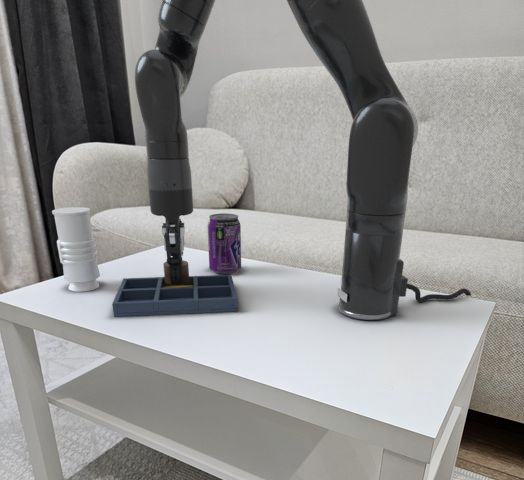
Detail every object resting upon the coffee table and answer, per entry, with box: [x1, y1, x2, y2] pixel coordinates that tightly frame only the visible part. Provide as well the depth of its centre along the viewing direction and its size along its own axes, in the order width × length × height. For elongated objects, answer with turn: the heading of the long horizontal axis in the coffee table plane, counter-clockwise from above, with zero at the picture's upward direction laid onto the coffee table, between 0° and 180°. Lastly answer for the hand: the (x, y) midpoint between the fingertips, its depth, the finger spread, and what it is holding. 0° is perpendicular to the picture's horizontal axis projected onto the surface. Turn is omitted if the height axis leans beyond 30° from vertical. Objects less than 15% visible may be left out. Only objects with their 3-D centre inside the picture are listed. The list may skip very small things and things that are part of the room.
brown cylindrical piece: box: [162, 260, 190, 285], centre depth 90 cm, size 5×5×4 cm
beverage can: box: [207, 212, 242, 275], centre depth 103 cm, size 7×7×12 cm
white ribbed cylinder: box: [51, 206, 101, 293], centre depth 92 cm, size 7×7×15 cm
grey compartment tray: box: [111, 274, 239, 318], centre depth 88 cm, size 21×14×2 cm
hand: (177, 279), depth 90 cm, fingers closed on brown cylindrical piece, 4 cm apart
